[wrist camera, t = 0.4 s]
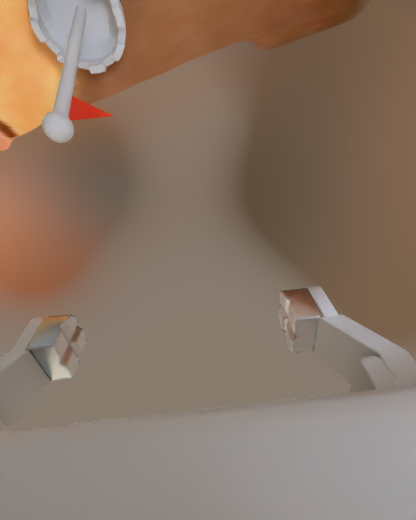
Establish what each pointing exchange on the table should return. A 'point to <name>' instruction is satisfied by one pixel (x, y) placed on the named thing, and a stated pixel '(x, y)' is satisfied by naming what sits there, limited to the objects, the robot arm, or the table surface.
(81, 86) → the table surface
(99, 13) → the flag stand
